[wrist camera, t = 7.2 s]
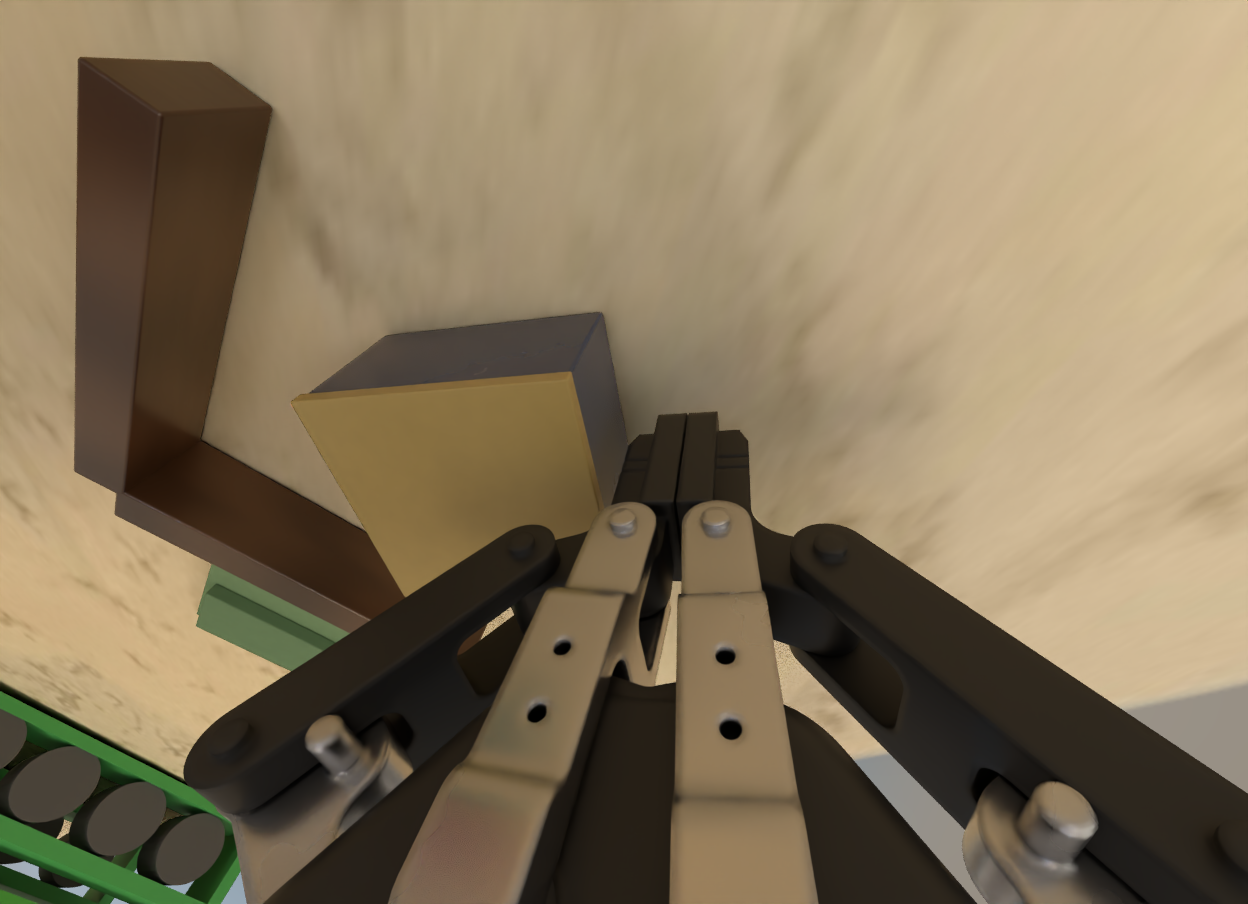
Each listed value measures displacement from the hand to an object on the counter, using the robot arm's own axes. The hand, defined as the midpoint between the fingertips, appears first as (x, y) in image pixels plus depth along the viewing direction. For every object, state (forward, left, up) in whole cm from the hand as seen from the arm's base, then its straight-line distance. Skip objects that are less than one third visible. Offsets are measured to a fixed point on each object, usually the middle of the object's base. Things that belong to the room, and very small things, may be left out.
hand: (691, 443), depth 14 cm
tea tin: (-5, 0, -2) cm, 6 cm away
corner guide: (-14, 0, -2) cm, 14 cm away
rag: (-18, -9, -2) cm, 20 cm away
